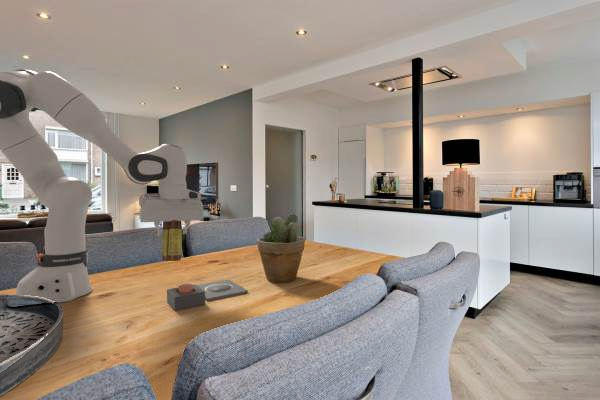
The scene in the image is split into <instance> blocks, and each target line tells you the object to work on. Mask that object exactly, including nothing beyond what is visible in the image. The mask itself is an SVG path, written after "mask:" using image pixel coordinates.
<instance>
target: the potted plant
mask: <svg viewBox="0 0 600 400" xmlns="http://www.w3.org/2000/svg"><path fill="white" fill-rule="evenodd" d="M298 220H299V218H298V215H297V214H295V213H293V212H290V213H288V214H287V216H286V219H284V218H283V217H281V216H276V217H274V218H273V219H272V223H271V227H272V228H271V230H269V231H267V232H264V234H263V235H262V237H260V238H257V239H256V243H257V251H258V252H259V255H260V256H259V257H260V260H261V264H262V267H263V270H264V274H265V278H266V280H267V281H268V282H271V283H280V284H282V283H291V282H294V281H295V280H296V278H297V275H298V272H299V268H300V265H301V261H302V259H303V258H302V256H303V251H304V250H305V244H306V243H305V242H306V241H305V240H306V238H305V237H304V236H301V235H300V236H299V235H297V231H298V228H299V227H298Z"/></svg>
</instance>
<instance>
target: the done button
mask: <svg viewBox="0 0 600 400" xmlns="http://www.w3.org/2000/svg"><path fill="white" fill-rule="evenodd" d="M193 285H194V284H192V283H184V284H183V283H182V284H179V285H178V292H179V294H183V293H189V292H193Z"/></svg>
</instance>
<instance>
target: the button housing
mask: <svg viewBox="0 0 600 400" xmlns="http://www.w3.org/2000/svg"><path fill="white" fill-rule="evenodd" d="M192 285H193V292H189V293H183V294H179V292H178V287H172V288H167V289H166V302H167V304H168V305H169V306H170V307H171V308H172V309H173V311H181V310H184V309H190V308H195V307H200V306H205V305H206V300H205V291H204V290H202V289H201V288H200V287H198V286H197V285H198V284H192Z"/></svg>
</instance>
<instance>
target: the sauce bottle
mask: <svg viewBox="0 0 600 400" xmlns="http://www.w3.org/2000/svg"><path fill="white" fill-rule="evenodd" d="M182 224H183V223H182V221H177V220H172V221H167V222H162V230H164V232H163V233H164V235H162V236H161V237H162V238H161V257H162V258H161V260H162V261H163V262H177V261H181V260H182V252H183V249H182V248H183V245H182V243H183V234H182V229H183V225H182Z"/></svg>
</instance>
